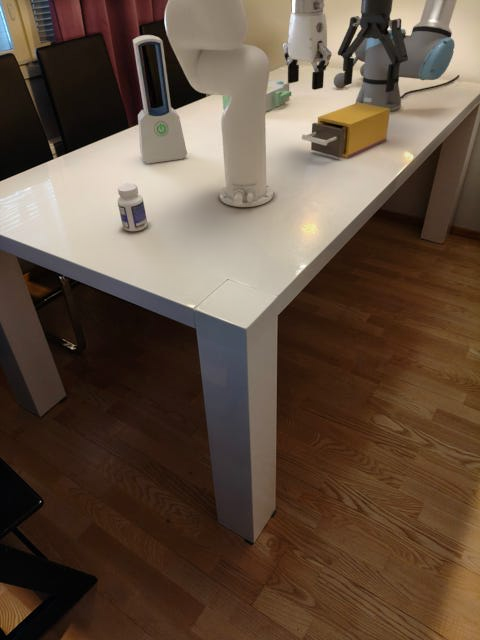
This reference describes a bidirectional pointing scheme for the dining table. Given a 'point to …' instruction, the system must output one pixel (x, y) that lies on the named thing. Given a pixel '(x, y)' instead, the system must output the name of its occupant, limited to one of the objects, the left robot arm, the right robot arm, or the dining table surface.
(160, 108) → the electronic device
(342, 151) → the drawer
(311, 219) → the dining table surface
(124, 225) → the pill bottle
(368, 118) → the yellow open box
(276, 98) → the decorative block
